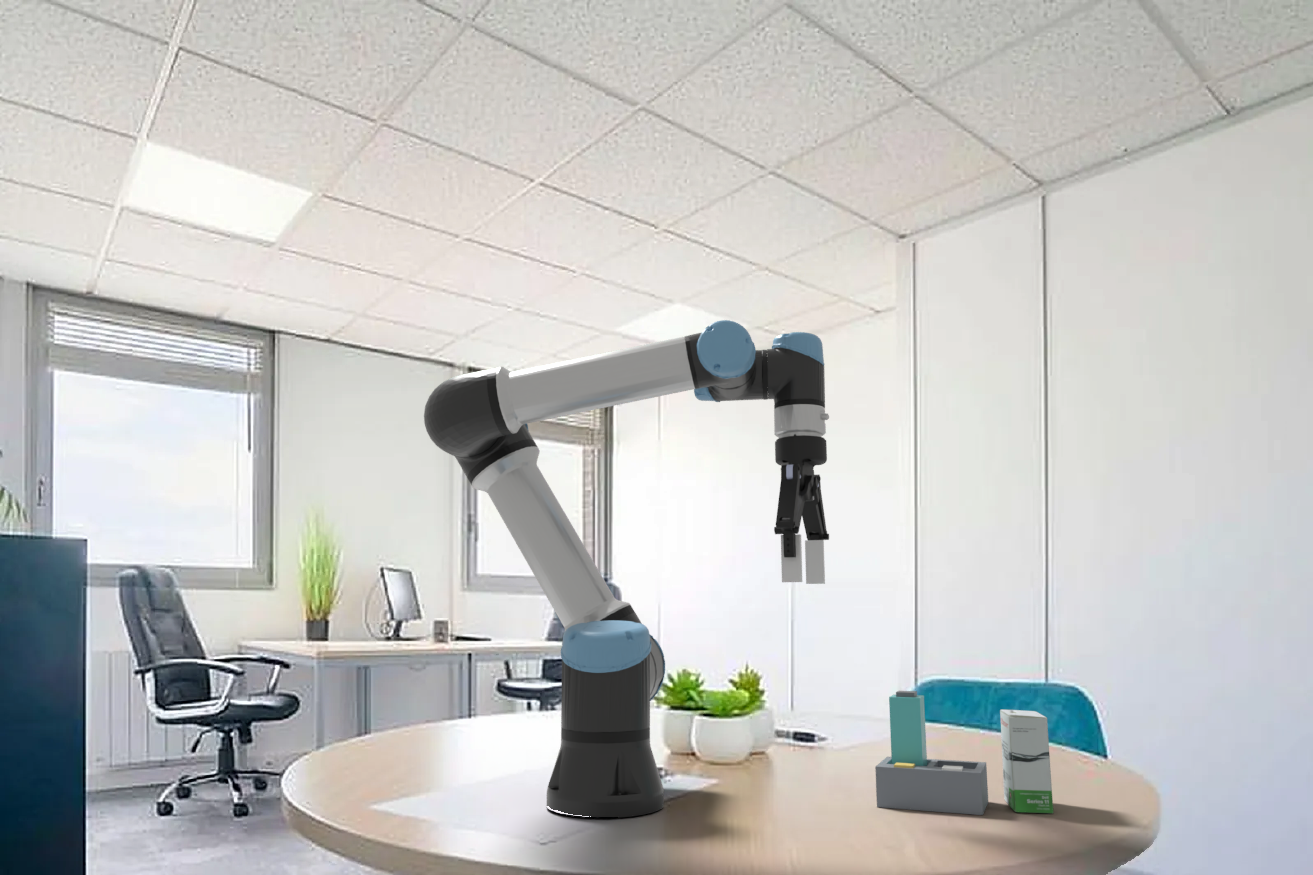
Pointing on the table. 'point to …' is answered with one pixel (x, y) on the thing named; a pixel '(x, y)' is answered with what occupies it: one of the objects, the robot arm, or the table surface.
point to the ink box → (1026, 761)
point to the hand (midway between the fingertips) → (804, 583)
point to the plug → (908, 728)
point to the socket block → (933, 786)
